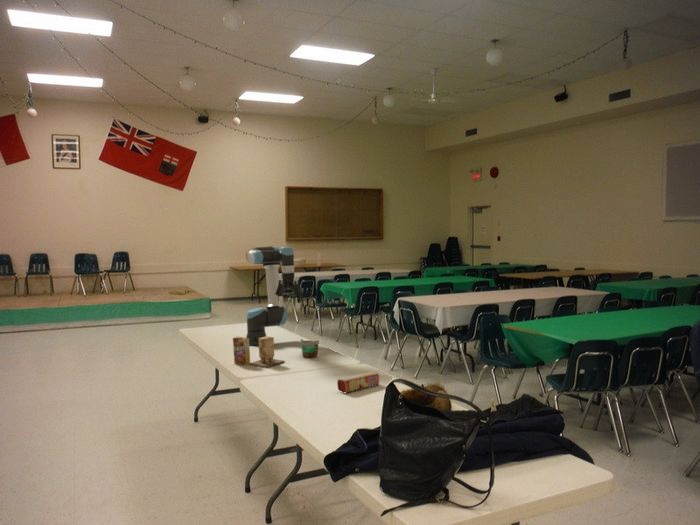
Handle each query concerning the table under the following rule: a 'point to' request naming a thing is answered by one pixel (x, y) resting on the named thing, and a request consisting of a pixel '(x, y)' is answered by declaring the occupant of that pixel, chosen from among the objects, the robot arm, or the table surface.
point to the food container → (309, 348)
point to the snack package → (358, 382)
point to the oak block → (266, 347)
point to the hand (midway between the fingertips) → (289, 307)
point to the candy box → (241, 350)
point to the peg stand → (267, 362)
